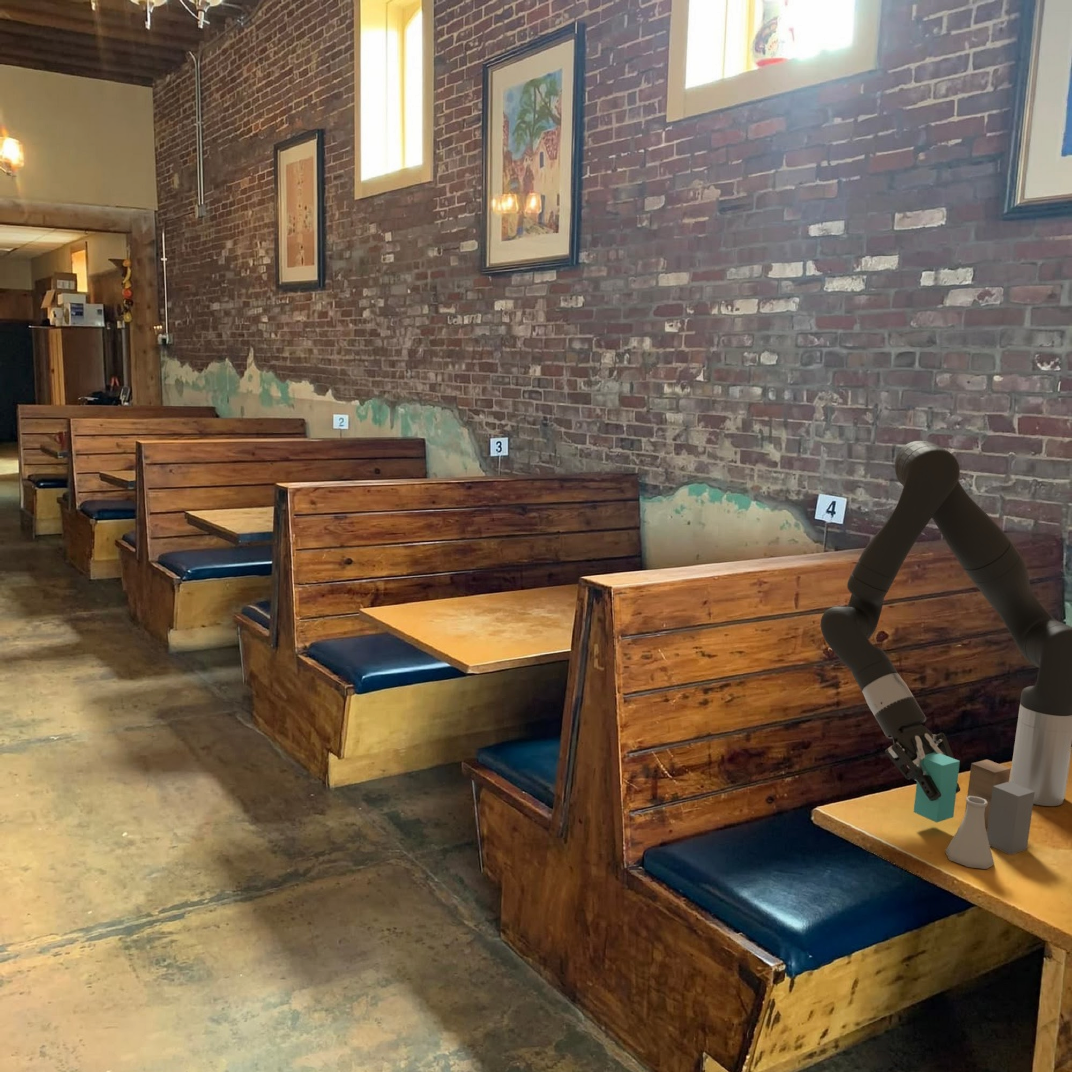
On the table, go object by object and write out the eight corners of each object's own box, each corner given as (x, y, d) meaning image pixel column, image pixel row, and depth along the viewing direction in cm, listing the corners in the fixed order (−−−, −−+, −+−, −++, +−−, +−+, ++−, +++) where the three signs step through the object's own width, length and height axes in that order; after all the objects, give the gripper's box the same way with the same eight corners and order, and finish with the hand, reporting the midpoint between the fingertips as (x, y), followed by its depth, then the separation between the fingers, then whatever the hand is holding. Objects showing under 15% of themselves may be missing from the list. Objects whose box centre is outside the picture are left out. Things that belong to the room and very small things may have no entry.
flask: (942, 862, 157) (950, 802, 155) (947, 844, 163) (954, 787, 162) (992, 874, 153) (1000, 813, 152) (995, 856, 160) (1003, 797, 158)
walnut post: (980, 812, 177) (986, 759, 175) (1003, 823, 173) (1010, 768, 171) (964, 817, 174) (971, 763, 173) (987, 827, 170) (995, 772, 169)
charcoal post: (1001, 838, 167) (1009, 781, 165) (1026, 849, 163) (1034, 791, 161) (985, 843, 164) (993, 786, 163) (1010, 854, 161) (1018, 796, 159)
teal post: (930, 807, 172) (936, 751, 170) (953, 817, 168) (959, 761, 166) (913, 812, 169) (919, 756, 168) (936, 822, 165) (942, 765, 164)
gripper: (880, 700, 168) (934, 794, 160) (933, 689, 176) (988, 779, 167) (852, 721, 173) (903, 813, 165) (905, 709, 181) (956, 797, 173)
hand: (945, 795), depth 166 cm, fingers closed on teal post, 4 cm apart
